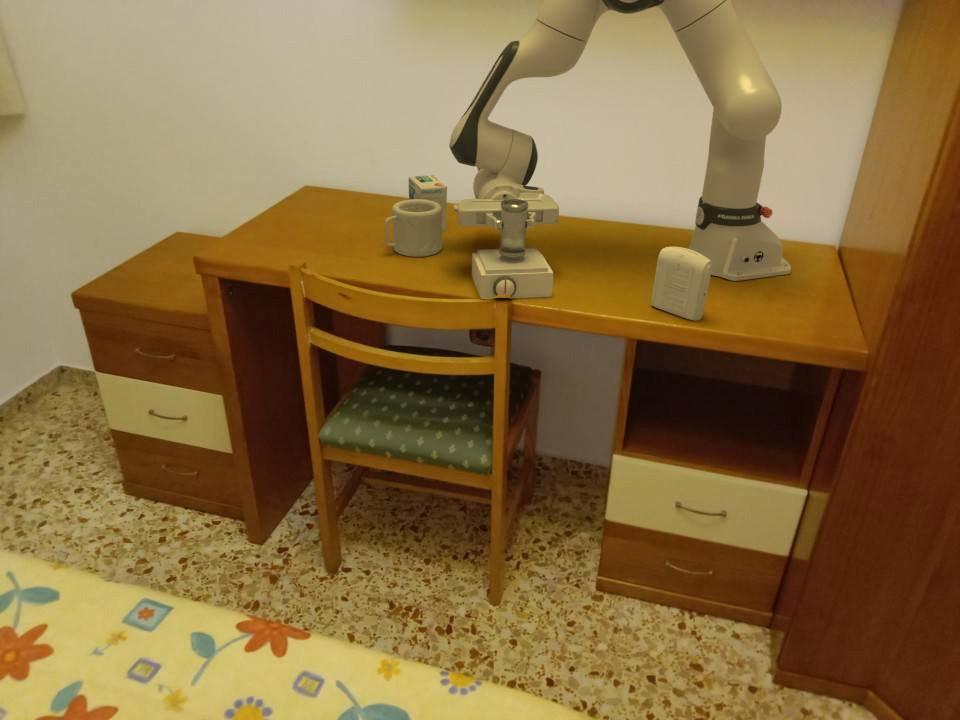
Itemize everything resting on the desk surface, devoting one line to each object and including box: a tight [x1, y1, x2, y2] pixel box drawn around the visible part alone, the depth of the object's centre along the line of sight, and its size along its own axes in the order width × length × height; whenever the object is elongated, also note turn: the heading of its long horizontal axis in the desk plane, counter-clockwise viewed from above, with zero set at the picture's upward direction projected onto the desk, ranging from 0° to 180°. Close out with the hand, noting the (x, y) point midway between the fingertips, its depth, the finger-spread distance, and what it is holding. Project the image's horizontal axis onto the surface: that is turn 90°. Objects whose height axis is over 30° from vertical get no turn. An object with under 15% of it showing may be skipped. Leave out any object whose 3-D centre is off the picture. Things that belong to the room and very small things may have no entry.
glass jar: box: [498, 199, 528, 258], centre depth 145 cm, size 5×5×10 cm
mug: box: [384, 199, 443, 258], centre depth 164 cm, size 14×11×10 cm
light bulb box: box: [408, 174, 448, 232], centre depth 180 cm, size 11×7×11 cm, turn 21°
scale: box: [471, 247, 554, 299], centre depth 148 cm, size 14×13×6 cm
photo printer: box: [650, 246, 712, 322], centre depth 139 cm, size 10×4×12 cm, turn 47°
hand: (514, 225), depth 143 cm, fingers closed on glass jar, 5 cm apart
